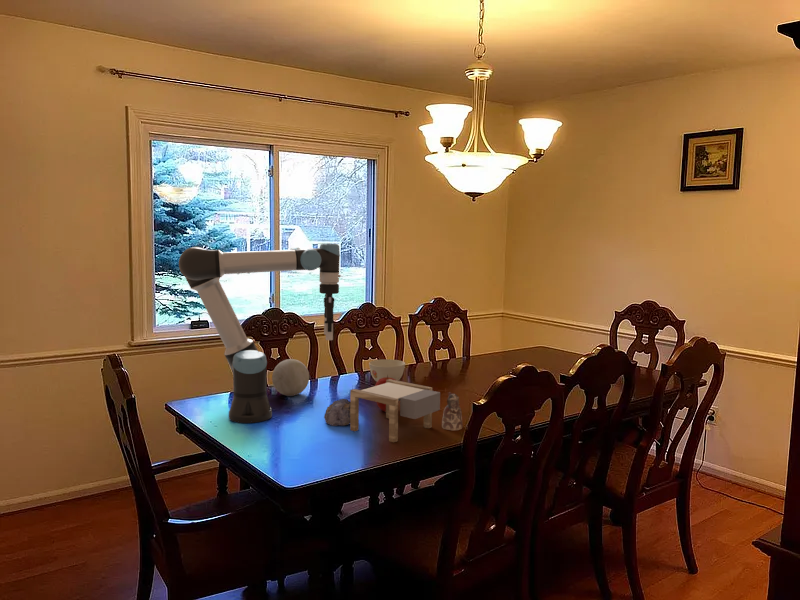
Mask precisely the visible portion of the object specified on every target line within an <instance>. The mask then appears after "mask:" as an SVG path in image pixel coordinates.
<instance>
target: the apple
mask: <svg viewBox="0 0 800 600" xmlns="http://www.w3.org/2000/svg"><path fill="white" fill-rule="evenodd" d="M388 379H392V380H396V379H393V378H389V377H388V375H387V377H384V378H381V379H379V380H378V381H377V382H376V381H375V382H376V383H375V384H374V386H378V385H381V384H385V383H386V380H388ZM398 404H400V401H398ZM376 405H377V407H378V408H379V409H380V410H381V411H382V412H385V413H386V404H383V403H379V402H376Z"/></svg>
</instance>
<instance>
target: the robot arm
mask: <svg viewBox="0 0 800 600" xmlns="http://www.w3.org/2000/svg"><path fill="white" fill-rule="evenodd" d="M319 246H320V247H319V248H318V247H317V248H311V247H290V248H289V249H279V250H278V249H277V250H258V251H256V250H255V251H251V250H250V251H234V252H233V251H232V252H231V251H227V252H223V251H221V250H220V249H206V248H205V247H202V246H197V245H196V246H192V247H188V248H186V249H185V250H184V251H182V253H181V254H180V257H179V258H178V259H179V260H178V267H179V271H180V273H181V274H182V275H183V276H184V278H185V280H186V282H187V283H188V286H189V287H190V289H191V290H194V291H195V292H197V294H198V296H199V297H200V300H201V301H202V303H203V305H204V307H205V310H206V312H207V313H208V316H209V317H210V319H211V321H212V323H213V325H214V328H215V329H216V331H217V334H218V336H219V337H220V340H221V341H222V343H223V345H224V347H225V349H224V350H225V351H224V357H225V358H226V361H227V363H228V365H229V367H230V369H231V370H232V376H233V377H232V379H233V380H232V381H233V397H232V401H231V403H230V404H231V405H230V409H229V411H228V419H229V420H230V421H231V422H235V423H239V424H240V423H241V424H252V423H253V424H255V423H260V422H265V421H267V420H269V419H271V418H272V416H273V410H272V407H271V403H270V401H269V398H268V395H267V393H268V392H267V391H268V390H267V389H268V388H267V386H268V385H267V383H268V382H267V365H268V361H267V356H266V354H265V353H264V352H262V351H259V350H258V348H257V346H256V344H255V342H254V340H253V339H251V338H248V337H247V335H246V332H245V331H244V329H243V326H242V325H241V323H240V321H239V319H238V317H237V315H236V312H235V310H234V308H233V306H232V304H231V303H230V301H229V298H228V296H227V295H226V292H225V290H224V288H223V286H222V284H221V282H220V279H221V278H222V277H223V276H224V275H234V274H250V273H251V274H254V273H269V272H270V273H271V272H286V271H289V272H290V271H315V270H317V269H318V268H319V283H320V284H319V290H318V291H319V293H320V294H323V295H324V297H323V307H324V312H323V313H324V314H323V315H324V319H323V335H325V341H333V340H334V308H335V298H334V296H333V294H334V295H336V294H339V293H340V284H338V283H339V281H340V278H341V274H340V260H341V258H340V257H341V255H340V253H341V251H340V245H339V244H337V243H328V242H327V243H320V245H319Z"/></svg>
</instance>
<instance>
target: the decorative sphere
mask: <svg viewBox="0 0 800 600" xmlns="http://www.w3.org/2000/svg"><path fill="white" fill-rule="evenodd" d="M271 375H272V376H271V380H272V381H271V382H272V385H273V387H274V388H275V390H276V391H277V392H278V393H280V394H281V395H283V396H285V397H286V396H287V397H294V396H297V395H299V394H301V393H302V392H304V391H305V390H306V389H307V387H308V384H309V381H310V372H309V370H308V367H307V366H306V364H304V363H303V362H302V361H301V360H298V359H294V358H288V359H287V358H286V359H283V360H282V361H280V362H279V363H278V364H277V365H276V366H275V367H274V369H273V370H272V374H271Z"/></svg>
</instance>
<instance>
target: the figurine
mask: <svg viewBox="0 0 800 600" xmlns="http://www.w3.org/2000/svg"><path fill="white" fill-rule="evenodd" d="M447 395H448V397H447V399H446V403H447V405H446V406H445V407H444V408H443V412H442V413H443V414H442V419H441V428H442V429H443V430H448V431H453V432H454V431H459V430H462V429H463V413H462V409H461V408H462V407H461V406H460V396H458V395H457V394H456V393H452V392H451V391H449V392H447Z"/></svg>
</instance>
